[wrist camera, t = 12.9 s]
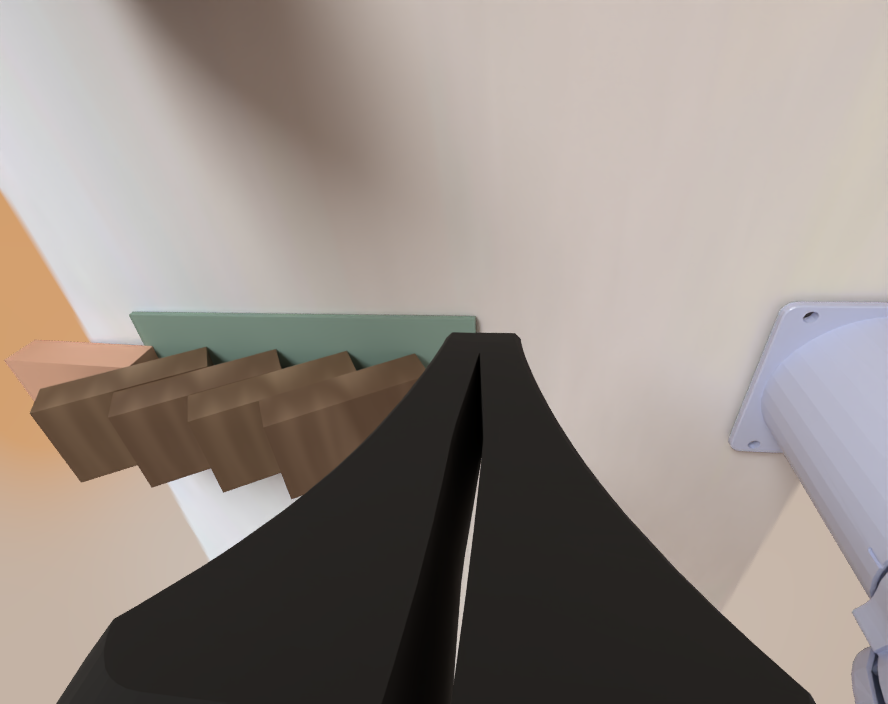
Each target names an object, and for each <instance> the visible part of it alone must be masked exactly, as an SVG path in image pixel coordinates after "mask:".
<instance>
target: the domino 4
mask: <svg viewBox="0 0 888 704" xmlns="http://www.w3.org/2000/svg"><path fill="white" fill-rule="evenodd" d="M424 371H425V367H424V366H423V364H422V363H421V361H420V360H419V358H418V357H417V356H416V354H415V353H414V354H411V355H407V356H404V357H401V358H397V359H394V360H391V361H387V362H384V363H381V364H377V365H374V366H371V367H367V368H364V369H361V370H358V371H354V372H351V373H348V374H344V375H341V376H338V377H334V378H331V379H328V380H324V381H321V382H318V383H314V384H311V385H308V386H304V387H301V388H298V389H294V390H291V391H288V392H285V393H281V394H278V395H275V396H271V397H268V398H265V399H261V400H259V405H260V411H261V417H262V422H263V428H264V430H265V433H266V435H267V438H268V440H269V443H270V446H271V448H272V451H273V453H274V456H275V458H276V461H277V463H278V466H279V469H280V471H281V474H282V476H283V479H284V481H285V484H286V486H287V489H288V492H289V494H290V497H291V499H294V498H296V497H299V496H302V495H304V494H305V493H306V492H307V491H309V490H310V489H311V488H312V487H313V486H315V485H316V484H317V483H318V482H319V481H321V480H322V479H323V478H324V477H325V476H326V475H328V474H329V473H330V472H331V471H332V470H334V469H335V468H336V467H337V466H338V465H339V464H340V463H341V462H342V461H343V460H344V459H346V458H347V457H348V456H349V455H350V454H351V453H352V452H353V451H354V450H355V449H356V448H357V447H358V446H359V445H360V444H361V443H362V442H363V441H364V440H365V439H366V438H367V437H368V436H369V435H370V434H371V433H372V432H373V431H374V430H375V429H376V428H377V427H378V426H379V425H380V424H381V422H382V421H383V420H384V419H385V418H386V417H387V416H388V415H389V413H390V412H391V411H392V410H393V409H394V408H395V407H396V406H397V404H398V403H399V402H400V401H401V400H402V399H403V397H404V396H405V395H406V394H407V392H408V391H409V390H410V389H411V387H412V386H413V385H414V384H415V382H416V381H417V380H418V378H419V377H420V376H421V375H422V373H423V372H424Z"/></svg>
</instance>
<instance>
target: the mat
mask: <svg viewBox="0 0 888 704" xmlns="http://www.w3.org/2000/svg"><path fill="white" fill-rule="evenodd" d="M129 316H130V318H131V320H132V322H133V324H134V326H135V328H136V330H137V332H138V334H139V336H140V338H141V340H142V342H143V343H144V345H145V346H153V348H154V350H155V352H156V354H157V356H158V358H159V359H160V358H164V357H167V356H171V355H175V354H179V353H183V352H187V351H191V350H195V349H199V348H203V347H207V350H208V352H209V354H210V357H211V359H212V362H213V364H214V365H218V364H221V363H225V362H229V361H233V360H236V359H240V358H244V357H248V356H251V355H255V354H259V353H262V352H266V351H270V350H274V349H276V351H277V354H278V357H279V360H280V364H281V367H282V369H284V368H287V367H291V366H294V365H298V364H302V363H305V362H309V361H312V360H316V359H319V358H323V357H326V356H330V355H333V354H337V353H340V352H344V351H347V352H348V354H349V356H350V358H351V361H352V363H353V365H354V367H355V369H356V371H358V370H361V369H364V368H367V367H371V366H374V365H377V364H381V363H384V362H387V361H391V360H394V359H397V358H401V357H404V356H407V355H411V354H414V353H415V354H416V356H417V357H418V358H419V360H420V361H421V363H422V364H423V366H424V367H425V369H426V368H427V366H428V365H429V364H430V362H431V361H432V359H433V358H434V356H435V355H436V354H437V352H438V351H439V349H440V347H441V346H442V344H443V343H444V341H445V339H446V338H447V337H448V336H449V335H450V334H451V333H452V332H465V333H476V316H420V315H342V314H263V313H185V312H132V313H131V314H130V315H129Z"/></svg>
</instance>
